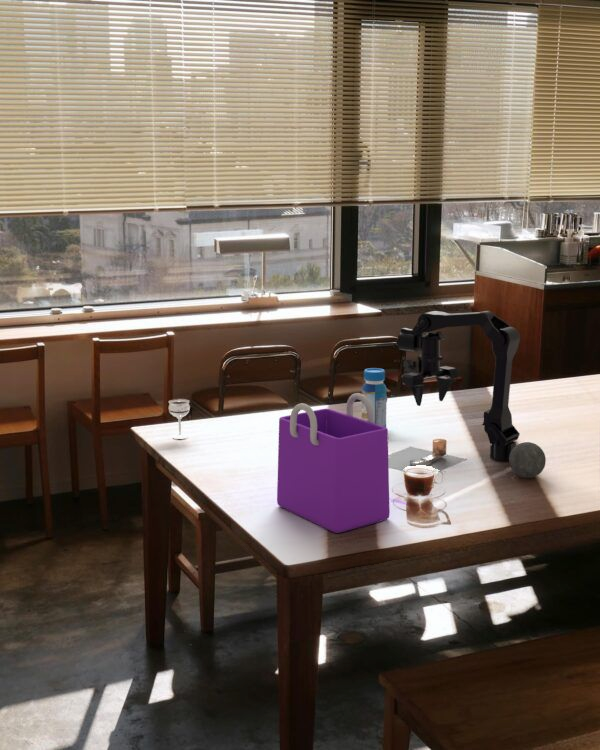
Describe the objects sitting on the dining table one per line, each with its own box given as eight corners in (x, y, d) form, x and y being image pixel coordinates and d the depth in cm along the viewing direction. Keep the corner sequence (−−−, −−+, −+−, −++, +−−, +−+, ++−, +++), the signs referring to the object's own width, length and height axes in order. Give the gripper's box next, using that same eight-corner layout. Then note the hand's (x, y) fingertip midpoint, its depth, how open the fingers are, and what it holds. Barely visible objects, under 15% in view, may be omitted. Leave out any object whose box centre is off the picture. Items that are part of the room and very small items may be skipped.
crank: (423, 469, 290) (423, 452, 289) (405, 465, 294) (405, 448, 293) (451, 457, 301) (452, 441, 300) (434, 453, 305) (434, 437, 304)
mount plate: (466, 462, 300) (466, 458, 300) (426, 480, 285) (426, 476, 284) (410, 449, 313) (410, 446, 313) (369, 466, 297) (369, 462, 297)
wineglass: (192, 435, 330) (191, 399, 327) (188, 441, 323) (187, 404, 321) (172, 434, 331) (170, 398, 328) (167, 440, 324) (166, 403, 321)
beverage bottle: (387, 433, 331) (388, 372, 326) (361, 433, 331) (361, 372, 327) (386, 426, 339) (386, 367, 335) (360, 426, 339) (360, 367, 335)
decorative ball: (518, 484, 281) (520, 449, 279) (502, 473, 290) (503, 439, 288) (551, 480, 283) (553, 446, 281) (534, 470, 293) (535, 436, 291)
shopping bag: (402, 514, 258) (404, 399, 252) (347, 539, 243) (347, 416, 236) (319, 490, 277) (318, 382, 270) (262, 511, 261) (260, 397, 255)
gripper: (434, 345, 321) (434, 394, 324) (389, 353, 310) (389, 403, 314) (459, 350, 312) (459, 400, 315) (414, 358, 302) (414, 410, 305)
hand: (429, 403), depth 313 cm, fingers open, 9 cm apart
